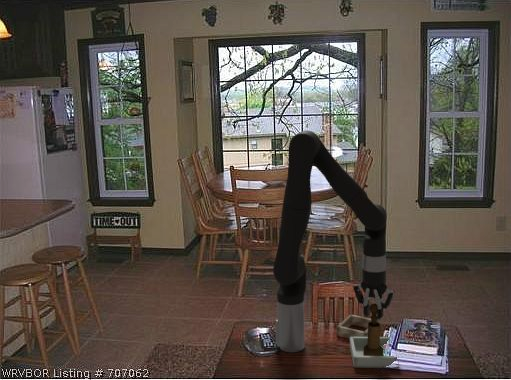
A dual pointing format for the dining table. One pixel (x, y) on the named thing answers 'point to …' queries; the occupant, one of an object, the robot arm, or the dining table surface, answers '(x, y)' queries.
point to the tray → (368, 361)
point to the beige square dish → (354, 320)
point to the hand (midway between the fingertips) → (373, 317)
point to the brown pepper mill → (373, 335)
